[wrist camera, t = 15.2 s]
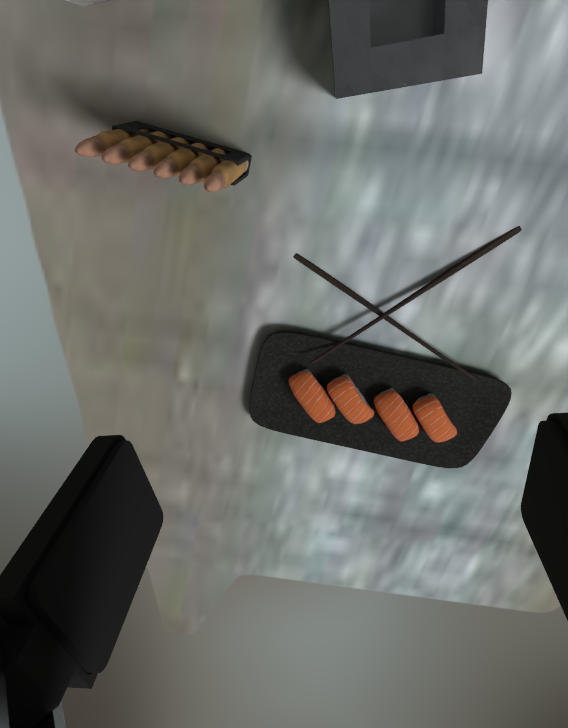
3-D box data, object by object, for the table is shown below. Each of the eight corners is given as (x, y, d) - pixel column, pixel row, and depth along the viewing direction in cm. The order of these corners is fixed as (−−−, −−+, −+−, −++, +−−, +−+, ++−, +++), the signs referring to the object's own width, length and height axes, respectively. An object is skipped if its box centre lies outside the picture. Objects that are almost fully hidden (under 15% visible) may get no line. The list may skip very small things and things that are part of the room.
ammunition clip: (252, 154, 38) (223, 177, 28) (248, 176, 39) (218, 205, 29) (134, 120, 37) (61, 131, 27) (133, 143, 38) (62, 162, 28)
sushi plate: (247, 415, 55) (241, 434, 52) (296, 170, 39) (293, 177, 36) (461, 462, 56) (469, 485, 53) (599, 242, 40) (623, 255, 36)
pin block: (474, -105, 28) (499, -140, 24) (463, 75, 33) (481, 73, 29) (323, -69, 30) (321, -96, 25) (335, 97, 35) (335, 98, 31)
